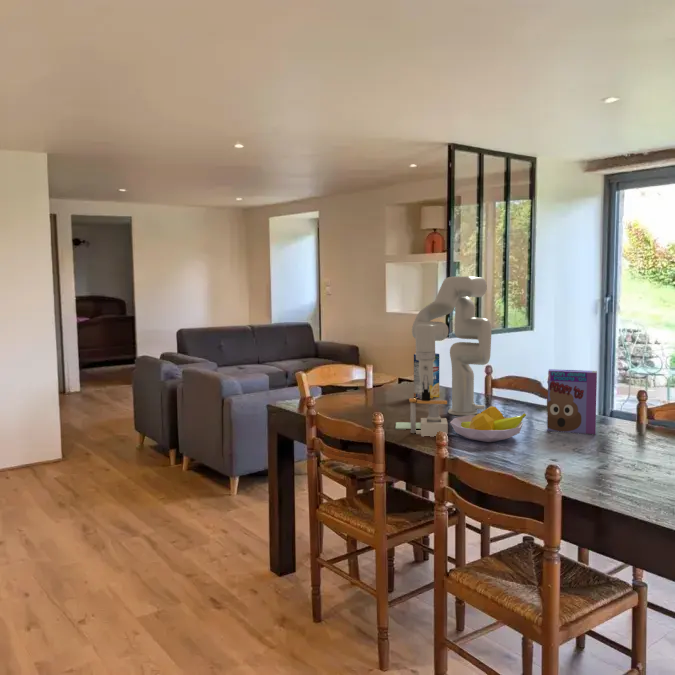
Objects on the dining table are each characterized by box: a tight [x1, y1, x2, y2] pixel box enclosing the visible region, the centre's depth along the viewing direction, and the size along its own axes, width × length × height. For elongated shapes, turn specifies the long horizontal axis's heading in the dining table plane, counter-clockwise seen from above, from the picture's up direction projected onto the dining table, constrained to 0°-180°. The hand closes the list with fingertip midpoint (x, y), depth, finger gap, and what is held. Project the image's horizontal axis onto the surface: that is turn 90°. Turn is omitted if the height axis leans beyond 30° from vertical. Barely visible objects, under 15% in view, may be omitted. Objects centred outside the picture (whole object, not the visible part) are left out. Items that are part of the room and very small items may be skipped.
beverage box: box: [413, 352, 440, 400], centre depth 326 cm, size 7×11×22 cm, turn 122°
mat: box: [395, 421, 421, 430], centre depth 265 cm, size 10×10×1 cm
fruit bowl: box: [449, 405, 527, 443], centre depth 244 cm, size 28×27×11 cm
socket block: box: [410, 402, 449, 438], centre depth 252 cm, size 14×10×12 cm
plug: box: [426, 404, 442, 422], centre depth 252 cm, size 5×5×11 cm
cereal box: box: [546, 368, 598, 436], centre depth 251 cm, size 17×5×24 cm, turn 68°
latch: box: [408, 397, 448, 405], centre depth 251 cm, size 14×3×2 cm, turn 79°
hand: (426, 402), depth 254 cm, fingers closed
